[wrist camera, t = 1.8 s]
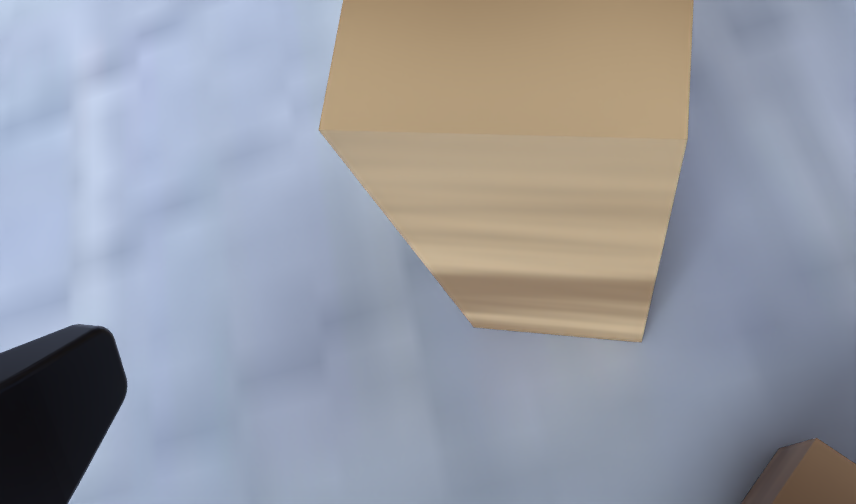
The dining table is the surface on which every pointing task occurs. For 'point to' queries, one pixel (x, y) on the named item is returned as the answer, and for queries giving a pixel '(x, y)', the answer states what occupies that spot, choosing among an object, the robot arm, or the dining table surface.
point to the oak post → (520, 148)
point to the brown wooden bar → (805, 477)
